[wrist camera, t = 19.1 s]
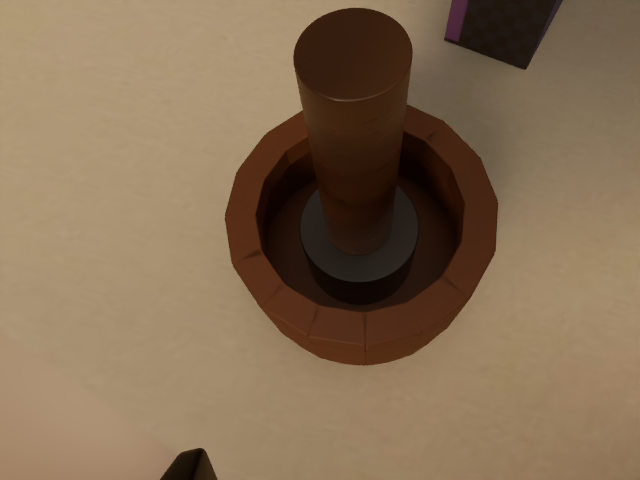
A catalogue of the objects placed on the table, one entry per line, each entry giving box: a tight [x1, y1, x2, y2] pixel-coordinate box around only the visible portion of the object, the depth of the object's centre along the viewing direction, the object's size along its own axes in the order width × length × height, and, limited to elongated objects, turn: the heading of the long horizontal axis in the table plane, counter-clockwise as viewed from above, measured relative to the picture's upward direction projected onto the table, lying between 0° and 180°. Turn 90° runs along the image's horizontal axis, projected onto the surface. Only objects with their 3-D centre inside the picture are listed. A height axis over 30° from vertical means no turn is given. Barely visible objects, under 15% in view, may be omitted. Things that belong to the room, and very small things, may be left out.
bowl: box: [225, 105, 498, 365], centre depth 21 cm, size 10×10×6 cm
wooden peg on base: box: [293, 8, 419, 305], centre depth 17 cm, size 5×5×13 cm
